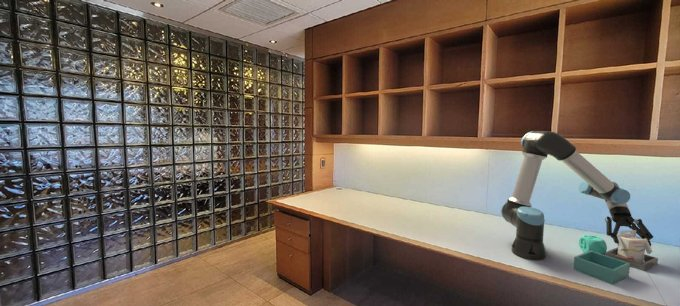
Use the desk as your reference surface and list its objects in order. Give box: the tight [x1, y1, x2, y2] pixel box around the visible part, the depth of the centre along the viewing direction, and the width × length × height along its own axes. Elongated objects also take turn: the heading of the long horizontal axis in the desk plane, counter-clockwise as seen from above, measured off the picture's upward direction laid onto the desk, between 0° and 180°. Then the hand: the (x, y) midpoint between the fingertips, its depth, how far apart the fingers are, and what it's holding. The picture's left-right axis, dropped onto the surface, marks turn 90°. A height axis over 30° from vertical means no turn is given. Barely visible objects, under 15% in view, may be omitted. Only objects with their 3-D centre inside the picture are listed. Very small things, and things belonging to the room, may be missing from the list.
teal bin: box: [573, 251, 631, 285], centre depth 125 cm, size 14×14×6 cm
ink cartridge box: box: [617, 229, 646, 263], centre depth 134 cm, size 9×5×15 cm, turn 92°
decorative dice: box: [578, 234, 608, 255], centre depth 144 cm, size 8×8×8 cm
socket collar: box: [604, 246, 659, 272], centre depth 135 cm, size 14×14×3 cm
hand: (635, 251), depth 131 cm, fingers closed on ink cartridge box, 9 cm apart
